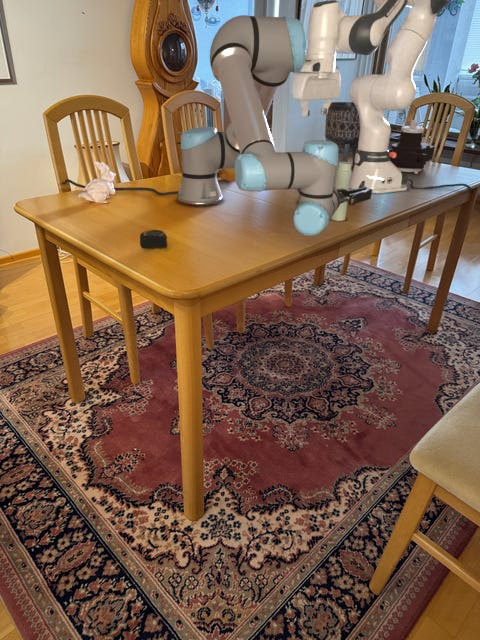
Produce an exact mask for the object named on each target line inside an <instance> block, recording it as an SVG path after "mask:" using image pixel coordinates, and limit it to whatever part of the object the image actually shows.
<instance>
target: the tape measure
mask: <svg viewBox="0 0 480 640" xmlns="http://www.w3.org/2000/svg"><path fill="white" fill-rule="evenodd" d="M167 236H168V235H167V234H166V232H165V231H164V230H161V229H147V230H144V231H143V232H141V233H140V235H139V240H140V241H139V245H140V246H139V247H141V248H142V249H146V250H157V249H167V248H168V240H167V239H168V237H167Z"/></svg>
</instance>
